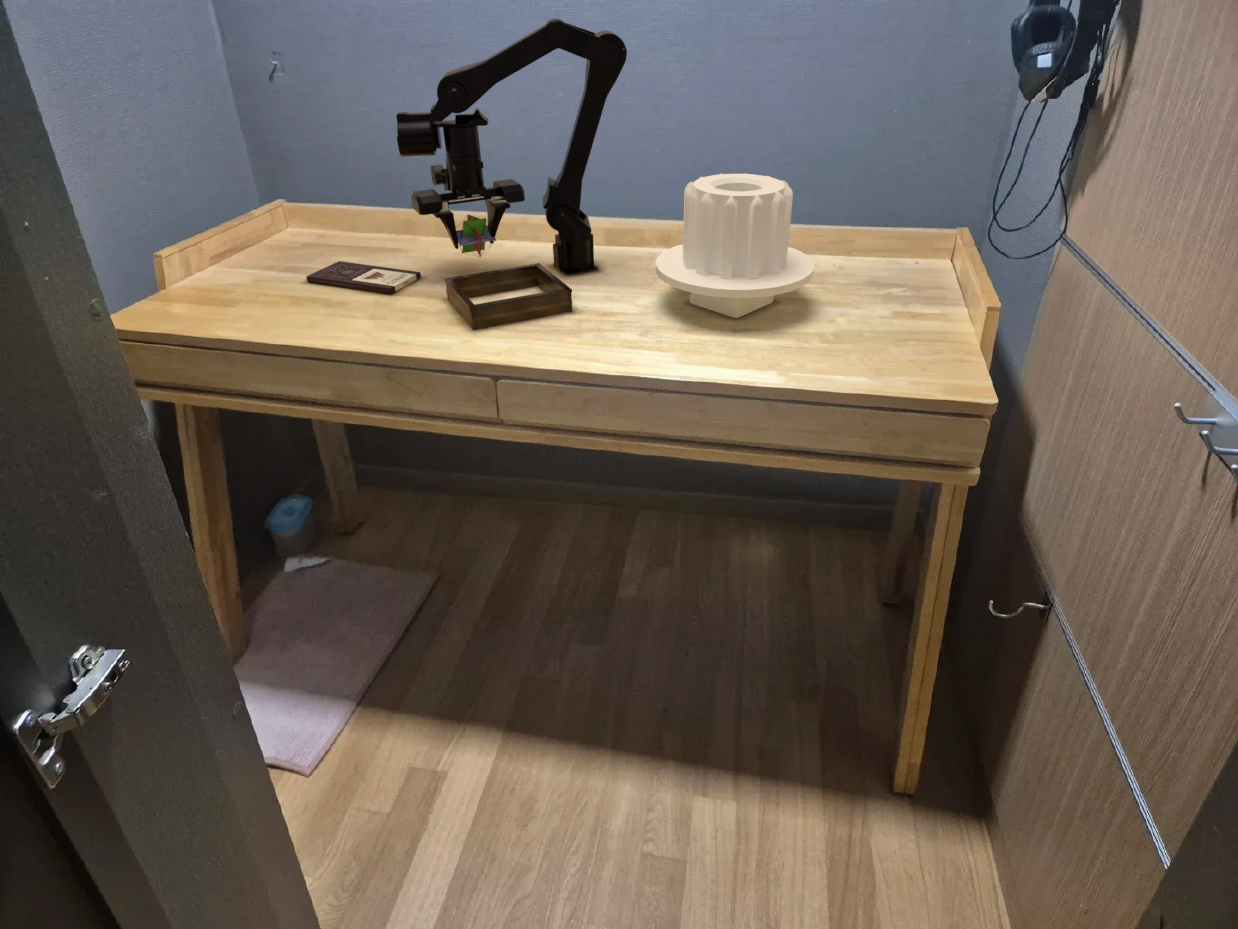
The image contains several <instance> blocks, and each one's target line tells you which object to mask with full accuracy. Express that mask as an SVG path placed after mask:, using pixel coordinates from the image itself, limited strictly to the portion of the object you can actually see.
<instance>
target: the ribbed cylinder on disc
mask: <svg viewBox="0 0 1238 929" xmlns="http://www.w3.org/2000/svg"><path fill="white" fill-rule="evenodd" d="M793 199H794V192H793V190H792V188H791V187H790V185H789V183H788V182H787V181H786V180H785V179H784V180H780V179H777V178H775V177H772V176H770V175H760V174H753V173H752V174H751V173H747V172H745V173H722V172H721V173H719V174H712V175H707V176H699V178H697V179H696V180H694V181H689V182H688V183H687V185H686V186H685V187H684V192H683V226H682V228H683V230H682V243H680V244H677V245H675V246H672V247H669V248H667V249H665V250H664V251H662V252H661V253H660V254H659V255H658V256H657V257H656V259H655V273H656V276H657V277H658V278H659V279H660V280H661V281H662V282H663V283H665V284H667V285H669V286H670V287H673V288H675V289H678V290H681V291H684V292H687V293H689V303H690V304H692V305H694V306H696V307H700V308H703V309H705V310H709V311H712V312H714V313H718V314H720V315H723V316H726V317H730V318H732V319H740V318H741V317H743V316H746V315H748V314H750V313H752V312H755V311H757V310H759V309H761V308H764V307H766V306H769V305H771V304H772V303H773V302H774V298H775V296H778V295H782V294H786V293H789V292H793V291H796V290H798V289H800V288H802V287H805V286H806V285H807V284H808V283H810V281H811V280H812V279H813V276H814V269H815V265H814V262H813V260H812V258H810V256H808V255H807V254H805V252H802V251H800V250H799V249H796V248H793V247H791V246H789V242H790V232H791V220H792V212H793V201H794V200H793Z"/></svg>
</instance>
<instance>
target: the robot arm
mask: <svg viewBox="0 0 1238 929" xmlns="http://www.w3.org/2000/svg"><path fill="white" fill-rule="evenodd" d="M558 49H559V50H562V51H565V52H567V53H570V54H572V55H575V56H578V57H580V58H582V59H584V60H586V62H585V63H586V64H585V72H584V73H585V74H584V75H585V77H584V87H583V92H582V95H581V98H580V103H579V105H578V109H577V113H576V116H575V120H574V124H573V128H572V132H571V133H570V134H571V135H570V138H569V142H568V144H567V145H568V146H567V149H566V152H565V157H564V159H563V163H562V166H561V170H560V172H559V173H558V176H557V177H556V179H554V178H552V177H550V176H549V177H548V178H547V186H546V191H545V194H544V195H543V196H542V198H541V199H542V208H543V209H544V212H545V219H546V222H547V224H548V225H549V226H550V228H552V229H553V230H554V231H556V232H557V233H556V234H554V243H553V244H552V254H553V256H552V257H553V262H552V266H553V267H554V268H556V269H557V270H558V271H559V272H561V273H562V274H563V275H565V276H571V275H576V274H581V273H582V274H583V273H588V272H594V271H598V270H599V267H598V266H597V265H596V264H595V250H594V248H595V247H594V245H595V244H594V233H592V227H591V223H590V219H589V216H588V214H586V212H585V213H584V211H583V210H582V209H581V203H582V202H581V201H582V189H583V180H584V179H583V178H584V177H585V176H584V175H585V172H586V169H587V165H588V162H589V160H590V159H589V157H590V155H591V151H592V148H593V145H594V141H595V138H596V134H597V131H598V128H599V125H600V121H601V117H602V114H603V111H604V107H605V104H606V100H607V98H608V96H609V94H610V92H611V91H612V89H613V87H614V85H615V84H616V82H617V80H618V78H619V77H620V74H621V72H622V70H623V68H624V65H625V64H626V62H627V56H628V50H627V47H626V44H625V42H624V41H623V39H622V38H621V37H620V36H619V35H618V34H616V33H614V32H613V31H612V30H600V31H598V32H594V31H591V30H588V29H585V28H582V27H580V26H576V25H573V24H570V23H567V22H565V21H564V20H563V19H561V18H556V17H553V18H551V19H549V20H547V21H546V23H544V24H543V25H542V26H539V27H538V28H537V29H535V30H533V31H532V32H529V33H528V34H527V35H525V36H523V37H521V38H520V39H518V40H516V41H515V42H513V43H511V44H510V45H508V46H506V47H504V48H502V49H500V50H499V51H498V52H496V53H494V54H492V55H490V56H489V57H487V58H485V59H482V60H480V61H476V62H473V63H469V64H466V65H463V66H460V67H457V68H454V69H451V70H449V71H447V72H446V73H445V74H443V76H442V78H441V79H440V81H439V82H438V84H437V88H436V95H437V96H436V97H437V101H436V102H435V104H432V105H431V107H430V112H429V111H427V112H408V111H398V113H397V114H396V116H395V117H396V132H397V136H396V143H397V148H398V151H399V155H400V157H401V158H406V157H407V158H408V157H429V156H432V157H433V156H437V151H438V150H440V149H442V146H443V145H442V134H441V128H442V131H443V138H444V147H445V154H446V155H445V156H446V158H445V165H446V167H445V168H444V166H443V165H442V164H434V165H431V166H430V176H431V180H432V184H433V186H441V185H443V188H444V191H448V193H447V192H446V193H438V192H437V191H436V190H435V189H434V188H432V189H431V188H430V189H423V190H415V191H413V192H412V194H411V196H410V199H411V206H412V209H413V210H414V211H415V212H417V214H418V215H420V216H428V215H433V216H434V218H436V219H439V220H440V221H441V222H442V224H443V226H444V228H445V230H446V232H447V234H448V236H449V238H450V241H451V243H452V245H453V247H454V249H455V250H458V249H459V245H458V244H459V243H458V237H457V232H456V231H457V228H456V227H457V225H456V222H455V216H454V213H453V212H452V211H451V210H450V205H457V204H466V203H472V202H480V201H484V202H485V207H486V211H487V212H486V213H487V221H488V222H487V224H488V223H489V224H488V231H489V233H490V236H491V237H494V238H495V239H496V236H497V232H498V229H499V227H500V223H501V221H502V218H503V217H504V214H505V213H506V210H507V209H510V208H511V204H514V203H522V202H524V201H525V200H526V197H525V189H524V187H523V185H522V184H520V183H519V182H518V181H516V180H514V179H512V178H509V179H500V180H494V181H493V183H492V186H491V187H486V186H485V183H484V172H483V169H484V168H485V167H484V162H483V161H482V153H481V145H480V137H479V136H480V134H479V127H485V126H488V125H489V118H488V117H487V116H485V115H484V113H482V112H481V110H480V109H479V108H478V107H477V108H475V110H474V112H473V113H465V112H466V111H468V109H470V108H471V107H472V106H473V105H474V104H476V102H478V101H479V100H480V99H481V98H482V97H483V96H485V94H487V93H488V92H489V90H490V89H492V88H493V87H494V86H495V85H496V84H498V83H500V82H501V81H503V80H505V79H507V78H508V77H510V76H513V75H514V74H515V73H517V72H519V71H520V70H522V69H524V68H525V67H527V66H529V65H531V64H533V63H535V62H536V61H538V60H540V59H541V58H543V57H545V56H547V55H548V54H550V53H552V52H553V51H556V50H558ZM451 114H455V115H454V119H450V120H449V119H448V120H445V119H447V118H448V117H449V116H450V115H451ZM491 230H492V231H491ZM492 232H493V233H492ZM493 234H494V235H493ZM488 242H489V244H490V245H493V244H494V243H495V242H494V241H488ZM493 242H494V243H493Z"/></svg>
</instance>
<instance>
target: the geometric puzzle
mask: <svg viewBox="0 0 1238 929" xmlns="http://www.w3.org/2000/svg"><path fill="white" fill-rule="evenodd" d="M461 224H462V228H461V229H458V230H456V232H457V237H458V247H459V249H460V251H461V254H467V253H472V254H473V255H472V256H474V257H475V256H476V257H479V258H481V257H482V255H483V254H484V253H486V251H488V249H486V243H488V242H489V241H494V242H493V244H494V243H496V242H497V239H496V237H495V238H494V237H491V236H490V233H489V231H488V224H489V223H488V219H487V217H483V218H480V217H478V216H475V215H471V214H467V215H466V217H465V218H463V220H461V221H460V223H458V225H456V229H457V228H458V227H459V225H461ZM491 231H492V230H491ZM492 233H493V232H492ZM493 235H494V234H493ZM488 247H491V244H490V245H488ZM474 252H477V254H476V253H474ZM468 255H470V256H471V254H468Z"/></svg>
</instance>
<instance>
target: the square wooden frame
mask: <svg viewBox="0 0 1238 929" xmlns="http://www.w3.org/2000/svg"><path fill="white" fill-rule="evenodd" d="M444 283H445V288H446V290H445V291H446V292H445V293H446V295H447V300H448V302H449V303H450V304H451V305H452V307H453V308H454V309H455V310H456V312H458V314H459V315H460V316H461V317H462V318H463V320H464V321H465V322H466V323H467V325H468V326H469V327H470V328H471V329H472V331H477V330H483V329H487V328H492V327H499V326H504V325H508V324H509V325H510V324H514V323H519V322H523V321H530V320H535V319H540V318H545V317H551V316H555V315H561V314H565V313H566V314H567V313H572V312H573V299H572V298H573V297H572V293H573V289H572V288H571V287H570V286H569V285H567V284H566V283H565V282H563V281H562V280H561V279H560V278H558V277H557V276H556V275H555V274H553V272H551V271H550V270H549V269H548V268H546V267H545V266H544V265H543V264H541V263H540V262H536V263H530V264H524V265H519V266H518V265H517V266H513V267H507V268H499V269H494V270H493V269H492V270H488V271H482V272H475V273H469V274H463V275H457V276H452V277H445V278H444ZM534 287H535V288H536V287H538V288H539V289H541V290H542V291H543V292H538V293H532V294H525V295H521V296H516V297H510V298H504V299H497V300H493V301H492V300H491V301H486V302H481V303H474V302H473V301H472V300H471V299H470V298H476V297H477V298H478V297H482V296H488V295H494V294H500V293H506V292H511V291H517V290H522V289H528V288H534Z"/></svg>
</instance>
